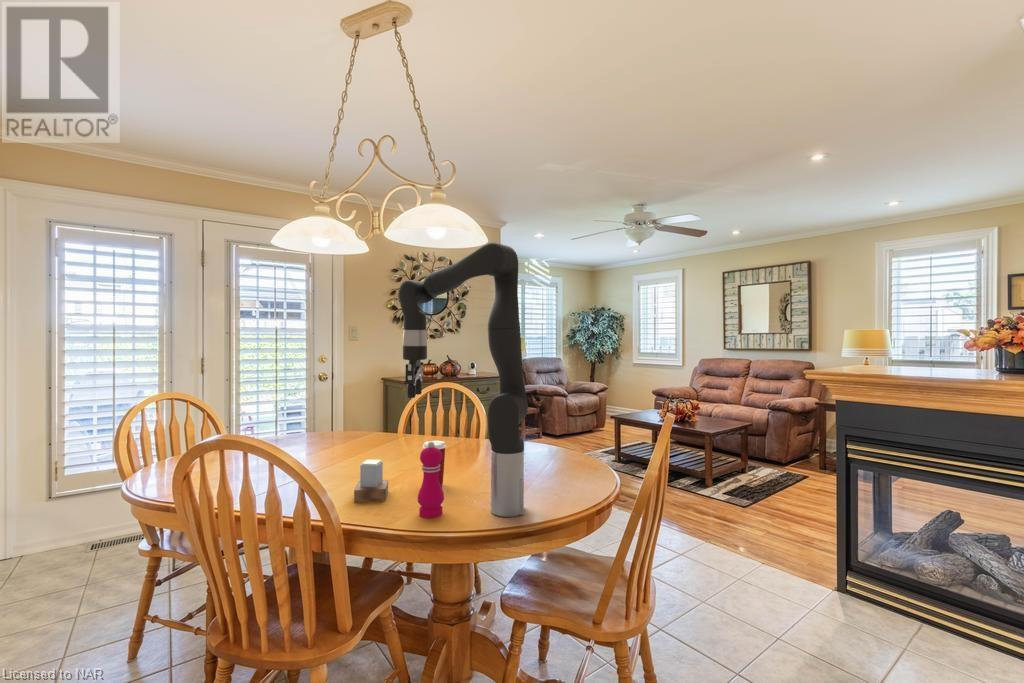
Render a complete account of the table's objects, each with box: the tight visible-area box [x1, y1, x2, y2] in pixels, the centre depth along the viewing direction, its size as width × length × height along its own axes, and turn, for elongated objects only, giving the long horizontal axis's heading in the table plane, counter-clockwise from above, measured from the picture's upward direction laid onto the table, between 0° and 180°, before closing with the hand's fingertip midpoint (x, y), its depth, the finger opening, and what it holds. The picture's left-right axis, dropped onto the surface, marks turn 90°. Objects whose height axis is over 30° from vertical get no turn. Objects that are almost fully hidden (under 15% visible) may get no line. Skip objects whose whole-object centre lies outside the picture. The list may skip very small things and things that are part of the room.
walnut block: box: [353, 479, 389, 503], centre depth 148 cm, size 9×9×4 cm
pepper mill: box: [417, 442, 445, 519], centre depth 134 cm, size 7×7×20 cm
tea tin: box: [359, 458, 384, 488], centre depth 148 cm, size 5×5×7 cm
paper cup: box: [422, 440, 447, 487], centre depth 159 cm, size 8×8×14 cm
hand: (414, 395), depth 153 cm, fingers open, 8 cm apart
